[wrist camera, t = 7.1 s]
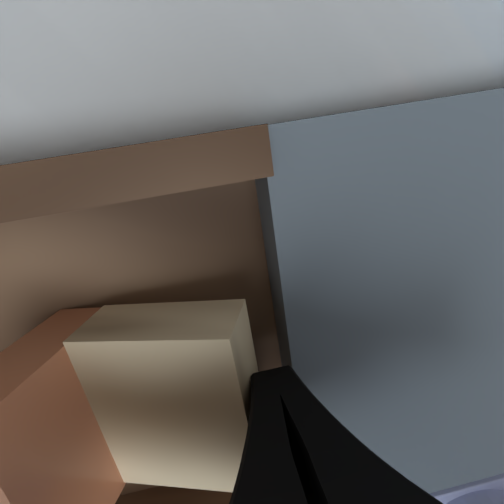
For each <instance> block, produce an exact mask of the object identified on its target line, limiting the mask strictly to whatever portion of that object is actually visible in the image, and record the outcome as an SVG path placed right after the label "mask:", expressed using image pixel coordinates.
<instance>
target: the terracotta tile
mask: <svg viewBox="0 0 504 504" xmlns="http://www.w3.org/2000/svg"><path fill="white" fill-rule="evenodd" d="M100 308H101V307H99V308H76V309H60V310H59V311H58V312H56V313H55V314H53V315H52V316H51V317H49V318H48V319H46V320H45V321H44V322H42V323H41V324H39V325H38V326H37V327H35V328H34V329H32V330H31V331H30V332H28V333H27V334H25V335H24V336H23V337H21V338H20V339H18V340H17V341H16V342H14V343H13V344H11V345H10V346H9V347H7V348H6V349H4V350H3V351H2V352H0V504H115V503H116V501H117V499H118V497H119V495H120V494H121V492H122V490H123V488H124V486H125V484H126V482H124V481H123V479H122V477H121V475H120V472H119V470H118V468H117V465H116V463H115V461H114V459H113V456H112V454H111V452H110V450H109V447H108V445H107V443H106V440H105V438H104V436H103V434H102V431H101V429H100V427H99V424H98V422H97V420H96V418H95V415H94V413H93V411H92V408H91V406H90V404H89V402H88V399H87V397H86V395H85V393H84V390H83V388H82V386H81V383H80V381H79V379H78V377H77V374H76V372H75V370H74V367H73V365H72V363H71V361H70V358H69V356H68V354H67V351H66V349H65V347H64V345H63V341H64V340H65V339H67V338H68V337H69V336H70V335H71V334H72V333H73V332H74V331H76V330H77V329H78V328H79V327H80V326H81V325H82V324H83V323H85V322H86V321H87V320H88V319H89V318H90V317H91V316H92V315H94V314H95V313H96V312H97V311H98V310H99V309H100Z"/></svg>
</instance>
